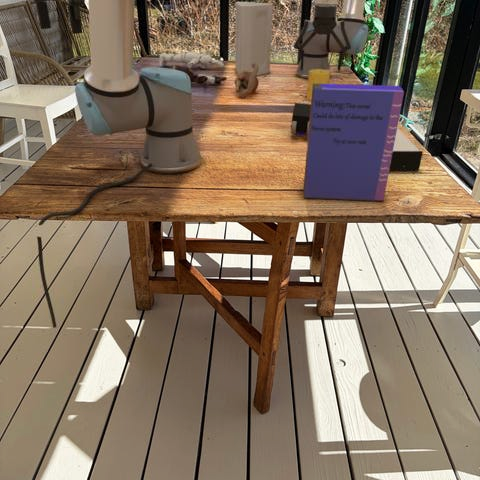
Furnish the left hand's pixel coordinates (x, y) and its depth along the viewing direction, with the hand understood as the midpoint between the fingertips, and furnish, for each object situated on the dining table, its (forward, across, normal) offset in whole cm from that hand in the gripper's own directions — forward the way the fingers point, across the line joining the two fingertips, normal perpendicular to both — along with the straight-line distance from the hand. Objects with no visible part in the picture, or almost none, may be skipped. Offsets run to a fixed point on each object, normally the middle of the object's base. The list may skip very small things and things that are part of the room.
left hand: (61, 31), depth 128 cm
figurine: (+28, +14, -66) cm, 73 cm away
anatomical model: (+28, -12, -69) cm, 75 cm away
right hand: (+18, -36, -82) cm, 91 cm away
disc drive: (+28, -77, -38) cm, 90 cm away
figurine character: (+28, -53, -41) cm, 73 cm away
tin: (+28, -37, -81) cm, 93 cm away
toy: (+28, +35, -92) cm, 102 cm away
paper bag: (+28, +8, -103) cm, 107 cm away
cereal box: (+28, -82, -9) cm, 87 cm away
